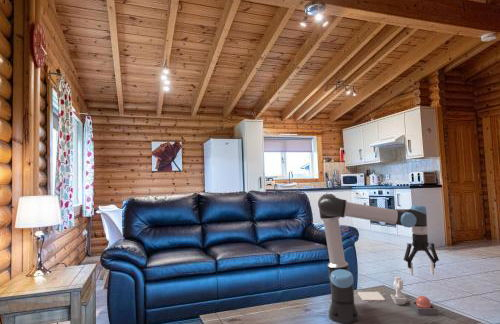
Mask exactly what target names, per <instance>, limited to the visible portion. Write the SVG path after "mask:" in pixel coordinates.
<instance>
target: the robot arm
mask: <svg viewBox="0 0 500 324" xmlns="http://www.w3.org/2000/svg"><path fill="white" fill-rule="evenodd" d="M317 201H318V202H317V206H318V211H319V217H320V219H321V221H323V226H324V233H325V239H326V246H327V251H328V259H329V262H328V263H327V269H328V279H329V283H330V293H331V294H330V296H331V303H330V306H329V310H328V317H329V319H330V320H332V321H334V322H337V323H340V324H354V323H355V322H356V323H357V322H358V320H359V313H358V309H357V307H356V304H355V289H354V288H355V287H354V281H355V279H354V275H353V273H352V272H350V267H349V263H348V262H347V261H346V260H345V259H346V257H345V252H344V246H343V240H342V234H341V227H340V226H341V225H340V220H339V219H340V218H343V219H344V218H346V217H348V218H354V219H355V218H356V219H361V220H367V221H373V222H379V223H385V224H391V225H397V226H402V227H404V228H411V233H412V237H411V238H412V242H411V243H409V242H407V243H406V249H405V253H404V256H403V261H405V262H407V268H408V269H409V274H410V275H412V276H413V275H414V264H413V260H414V258H415V256H416V254H417V253H418V252H425V253H426V255H427V257H428V258H429V259H430V261H429V271H430V274H431V275H435V268H436V263H437V262H439V261H440V260H439V256H438V254H437V252H436V249H435V243H433V242H429V239H428V220H427V219H428V213H427V207H426V206H425V205H422V204H420V205H419V204H416V205H413V204H412V205H411V206H410V208H409V209H407V208H406V209H404V208H402V209H401V208H399V209H398V208H393V209H390V208H385V207H379V206H372V205H368V204H362V203H356V202H349V201H347V200H346V199H342V198H339V197H336V195H335V194H332V193H325V194H322V195H321V196H319V199H318V200H317ZM412 247H413V248H412ZM428 247H429V248H430V250H429V249H428ZM411 250H412V251H411ZM430 251H431V252H430Z"/></svg>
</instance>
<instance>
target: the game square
mask: <svg viewBox="0 0 500 324" xmlns="http://www.w3.org/2000/svg"><path fill="white" fill-rule="evenodd" d="M357 294H358V296H359V297H360V299H361V300H362V301H363V302H365V301H367V302H368V301H369V302H371V301H372V302H374V301H375V302H380V301H382V302H385V301H386V298H385V297H384V296H383V295H382V294H381V293H380V292H379V291H357Z"/></svg>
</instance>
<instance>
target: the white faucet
mask: <svg viewBox="0 0 500 324" xmlns="http://www.w3.org/2000/svg"><path fill="white" fill-rule="evenodd" d="M403 289H404V281H403V280H402V279H401V276H395V277H394V281H393V290H395V294H392V293H391V294H390V298H391V299H392V301H393V302H394V303H395V304H396V305H405V304H406V303H407V301H408V297H406V296H405V295H404V294H403V293H402V290H403Z"/></svg>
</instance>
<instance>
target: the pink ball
mask: <svg viewBox="0 0 500 324" xmlns="http://www.w3.org/2000/svg"><path fill="white" fill-rule="evenodd" d="M415 302H416V306H417V307H419V308H431V304H432V303H431V300H430V299H429V298H428V297H427V296H425V295H419V296H418V297H417V298H416V301H415Z"/></svg>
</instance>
